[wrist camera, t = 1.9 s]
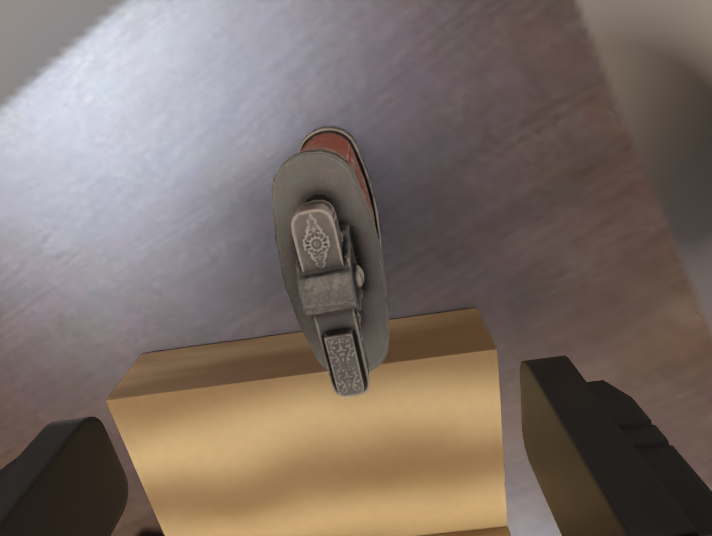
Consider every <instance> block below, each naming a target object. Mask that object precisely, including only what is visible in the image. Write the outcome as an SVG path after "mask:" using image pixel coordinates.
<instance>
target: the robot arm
mask: <svg viewBox="0 0 712 536" xmlns="http://www.w3.org/2000/svg"><path fill="white" fill-rule="evenodd" d="M520 385H521V411H522V432H523V439H524V444H525V448H526V452H527V456H528V459H529V462H530V464H531V467H532V469H533V471H534V473H535V476H536V478H537V480H538V482H539V485H540V487H541V489H542V492H543V494H544V496H545V498H546V501H547V503H548V505H549V507H550V510H551V512H552V514H553V516H554V519H555V521H556V523H557V525H558V528H559V530H560V532H561V534H562V536H712V491H711V490H710V489H709V488H708V487H707V485H706V484H705V483H704V482H703V481H702V480H701V478H700V477H699V476H698V475H697V474H696V473H695V471H694V470H693V469H692V468H691V467H690V466H689V464H688V463H687V462H686V461H685V460H684V458H683V457H682V456H681V455H680V454H679V453H678V451H677V450H676V449H675V448H674V447H673V446H670V445H669V443H668V440H667V438H666V437H665V436H664V435H663V434H662V433H661V431H660V430H659V429H658V428H657V427H656V426H655V425H652V423H651V420H650V419H649V417H648V416H647V415H646V414H645V413H644V411H643V410H642V409H641V408H640V407H639V406H638V404H637V403H636V402H635V401H634V400H633V399H632V397H630V396H628V395H627V394H625V393H623V392H622V391H620V390H618V389H617V388H615V387H614V386H612V385H610V384H609V383H607V382H605V381H604V380H601V381H593V382H586V381H585V380H584V378H583V377H582V376H581V374H580V373H579V372H578V370H577V369H576V368H575V366H574V365H573V364H572V362H571V361H570V360H569V358H567V357H566V356H558V357H550V358H543V359H535V360H527V361H522V362H521V365H520ZM127 497H128V482H127V478H126V475H125V472H124V470H123V468H122V466H121V463H120V461H119V459H118V457H117V454H116V452H115V450H114V448H113V445H112V443H111V441H110V439H109V436H108V434H107V432H106V430H105V427H104V425H103V424H102V422H101V421H100V420H99V419H98V418H96V417H86V418H78V419H71V420H63V421H55V422H52V423H50V424H48V425H47V426H46V427H45V428H44V429H43V430H42V431H41V432H40V433H39V434H38V435H37V436H36V438H35V439H34V440H33V441H32V442H31V443H30V444H29V445H28V447H27V448H26V449H25V450H24V451H23V452H22V453H21V454H20V455H19V457H17V458H16V459H15V460H13V461H12V462H11V463H9V464H8V465H7V466H5V467H4V468H3V469H1V470H0V536H111V534H112V532H113V530H114V528H115V526H116V524H117V523H118V521H119V519H120V517H121V515H122V513H123V511H124V509H125V506H126V502H127Z"/></svg>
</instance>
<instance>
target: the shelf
mask: <svg viewBox="0 0 712 536" xmlns="http://www.w3.org/2000/svg"><path fill="white" fill-rule="evenodd" d="M369 379H370V387H369V389H368V391H367V392H365V393H364V394H361V395H358V396H352V397H342V396H339V395H337V394H336V393H335V392H334V390H333V388H332V385H331V381H330V377H329V373H328V370H327V369H325V368H324V367H323V366H322V365H321V364H320V363H319V361H318V360H317V359H316V357H315V355H314V353H313V351H312V349H311V347H310V345H309V343H308V341H307V339H306V337H305V335H304V333H303V332H297V333H290V334H282V335H275V336H268V337H260V338H253V339H246V340H239V341H231V342H224V343H217V344H209V345H202V346H195V347H187V348H180V349H173V350H166V351H158V352H151V353H144V354H141V356H140V357H139V358H138V360H137V361H136V362H135V363H134V365H133V366H132V367H131V369H130V370H129V371H128V372H127V374H126V375H125V376H124V378H123V379H122V380H121V381H120V383H119V384H118V385H117V386H116V388H115V389H114V390H113V392H112V393H111V394H110V395H109V397H108V398H107V399H106V403H107V405H108V407H109V409H110V412H111V414H112V416H113V419H114V421H115V423H116V425H117V428H118V430H119V432H120V435H121V437H122V439H123V441H124V444H125V446H126V448H127V451H128V453H129V455H130V457H131V460H132V462H133V464H134V467H135V469H136V471H137V473H138V476H139V478H140V480H141V483H142V485H143V487H144V490H145V492H146V494H147V496H148V499H149V501H150V503H151V506H152V508H153V510H154V512H155V515H156V517H157V519H158V522H159V524H160V526H161V528H162V531H163V533H164V535H165V536H511V535H510V532H509V529H508V525H507V507H506V490H505V472H504V455H503V437H502V420H501V402H500V384H499V367H498V349H497V347H496V345H495V343H494V341H493V339H492V337H491V335H490V333H489V331H488V329H487V327H486V325H485V323H484V321H483V319H482V317H481V315H480V313H479V311H478V309H477V308H472V309H465V310H457V311H450V312H443V313H436V314H428V315H421V316H414V317H406V318H399V319H392V320H389V348H388V352H387V355H386V358H385V359H384V360H383V362H382V363H381V364H380V365H379V366H378V367H376V368H375V369H373V370H372V371H370V372H369Z"/></svg>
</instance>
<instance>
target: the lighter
mask: <svg viewBox="0 0 712 536" xmlns="http://www.w3.org/2000/svg"><path fill="white" fill-rule="evenodd" d="M272 199H273V213H274V227H275V239H276V244H277V249H278V254H279V259H280V264H281V269H282V274H283V279H284V284H285V287H286V289H287V292H288V295H289V298H290V301H291V303H292V306H293V309H294V312H295V315H296V317H297V320H298V323H299V325H300V327H301V329H302V331H303V333H304V335H305V337H306V339H307V341H308V343H309V345H310V347H311V349H312V351H313V353H314V355H315V357H316V359H317V360H318V361H319V363H320V364H321V365H322V366H323V367H324V368H325V369H327V370H328V373H329V377H330V381H331V385H332V388H333V390H334V392H335V393H336V394H337V395H339V396H342V397H352V396H358V395H361V394H364V393H365V392H367V391H368V389H369V387H370V379H369V372H370V371H372V370H373V369H375V368H376V367H378V366H379V365H380V364H381V363H382V362H383V360H384V359H385V358H386V355H387V352H388V348H389V300H388V291H387V282H386V273H385V264H384V257H383V253H382V250H381V236H380V227H379V218H378V209H377V204H376V200H375V196H374V192H373V189H372V185H371V181H370V177H369V173H368V171H367V168H366V166H365V163H364V161H363V158H362V156H361V153H360V151H359V148H358V146H357V143H356V141H355V140H354V138H353V137H352V135H351V134H350V133H348V132H347V131H345V130H344V129H341V128H338V127H334V126H331V127H322V128H319V129H316V130H314V131H313V132H311V133H310V134H309V135H308V136H307V137H306V138H305V139H304V140H303V142H302V144H301V145H300V147H299V152H298V153H296V154H294V155H293V156H292V157H291V158H289V159H288V160H287V161H286V162H284V163H283V165H282V166H281V167H280V169H279V170H278V172H277V174H276V175H275V177H274V180H273V187H272Z"/></svg>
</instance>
